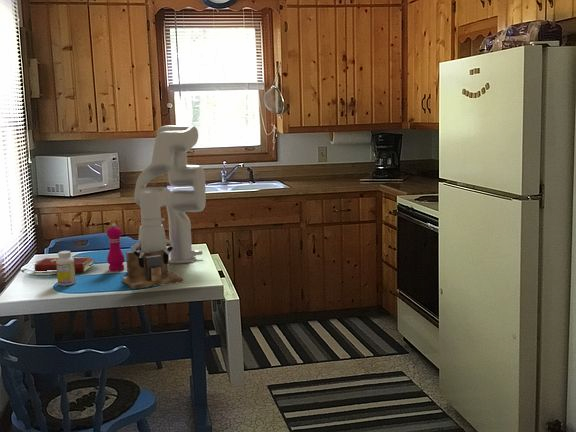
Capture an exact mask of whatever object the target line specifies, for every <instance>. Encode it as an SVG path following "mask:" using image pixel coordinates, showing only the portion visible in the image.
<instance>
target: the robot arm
mask: <svg viewBox="0 0 576 432" xmlns="http://www.w3.org/2000/svg"><path fill="white" fill-rule="evenodd" d="M198 140H199V131H198V128H197V127H196V126H194V125H192V124H186V125H185V124H184V125H181V124H180V125H179V124H175V125H173V124H172V125H170V124H169V125H162V126H160V127H159V128H158V129H157V134H156V136H155V137H154V145H153V151H152V156H151V162H150V164H149V165H148V166H146V167H145V168H144V169H143V170H142V171H141V173H140V174H139V175H138V177H137V179H136V184H135V187H134V195H133V196H134V202H135V204H136V206H139V207H140V221H141V223H140V224H141V225H140V226H139V228H138V239H137V240H138V241H137V242H136V243H135V244H132V246H130V251H132V252H133V253H134V254H135V255H136V256H137V257H138V263H139V266H140V267H141V268H144V259H143V258H142V256H143V255H144V253H147V252H155V251H162V250H163V251H164V254H163V258H164V263H165V264H166V265H169V264H173V265H174V264H175V265H177V264H178V265H181V264H188V263H189V264H190V263H193V262H196V258H197V257H196V256H202V255H203V250H194V249H193V248H192V227H191V226H192V225H191V224H192V223H191V220H190V217H189V216H188V215H187V214H186V213H190V212H191V213H199V212H202V211H204V210H205V208H206V206H207V205H206V200H207V198H206V193H207V192H206V175H205V174H206V173H205V171H204V168H203V166H201V165H199V164H198V165H197V164H189V163H188V154H187V152H188V151H190V150H191V149H193V147H194V146H196V144H197V142H198ZM166 173H167V178H168V183H169V185H170V186H171V187H175V188H193V189H175V190H170V189H169V188H167V187H162V186H161V187H159V186H158V187H157V186H155V187H154V186H148V184H149V182H151V181H152V180H153V179H155V178H157V177H159V176H162V175H165V174H166ZM162 207H166V212H167V217H168V233H169V234H168V235H169V239H168V238H167V237H166V231H165V227H164V225H163V222H165V221H166V219H165V217H164V218H163V217H162V212H161V210H162V209H161V208H162ZM167 244H169V245H168V247H167ZM137 247H139V250H140V251H139V253H138V252H137V251H136V248H137ZM166 248H167V249H166ZM169 255H170V257H169Z"/></svg>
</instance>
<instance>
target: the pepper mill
mask: <svg viewBox="0 0 576 432" xmlns="http://www.w3.org/2000/svg"><path fill="white" fill-rule="evenodd" d="M121 229H122V228H120V227H117V224H116V223H115V222H113V223H112V224H111V227H108V229H107V231H106V236H107V237H108V242H109V251H108V254H107V258H106V260H107V261H106V262H107V263H108V264H109V266H108V270H109V271H110V272H120V271H124V269H125V265H124V264H123V263H125V260H126V259H125V256H124V255H125V254H124V253H123V251H122V248H121V241H122V240H121V237H122V230H121Z"/></svg>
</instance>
